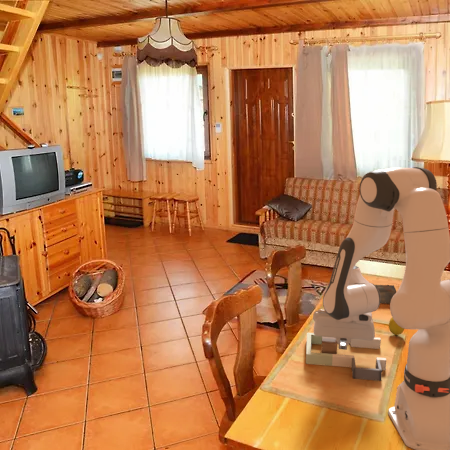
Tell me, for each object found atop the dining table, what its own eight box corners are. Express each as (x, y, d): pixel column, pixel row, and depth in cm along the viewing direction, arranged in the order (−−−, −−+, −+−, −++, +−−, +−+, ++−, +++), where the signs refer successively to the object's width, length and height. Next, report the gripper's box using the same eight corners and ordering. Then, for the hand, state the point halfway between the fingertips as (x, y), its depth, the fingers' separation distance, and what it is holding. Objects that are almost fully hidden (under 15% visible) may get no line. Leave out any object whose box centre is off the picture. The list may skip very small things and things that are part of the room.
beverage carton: (349, 295, 227) (349, 281, 226) (393, 298, 225) (394, 283, 223) (350, 302, 220) (351, 288, 218) (396, 305, 217) (397, 290, 215)
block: (336, 357, 173) (337, 344, 172) (321, 356, 174) (322, 343, 173) (336, 350, 178) (336, 337, 177) (321, 349, 179) (322, 336, 177)
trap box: (388, 381, 159) (389, 371, 158) (305, 374, 163) (305, 364, 162) (377, 338, 187) (377, 329, 186) (306, 333, 191) (307, 324, 190)
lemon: (404, 339, 186) (406, 319, 184) (388, 338, 187) (390, 318, 185) (402, 332, 191) (404, 313, 189) (387, 331, 192) (388, 311, 190)
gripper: (313, 313, 170) (311, 350, 173) (376, 317, 167) (374, 355, 170) (313, 305, 176) (311, 342, 179) (374, 309, 173) (372, 346, 176)
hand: (342, 348), depth 175 cm, fingers closed
